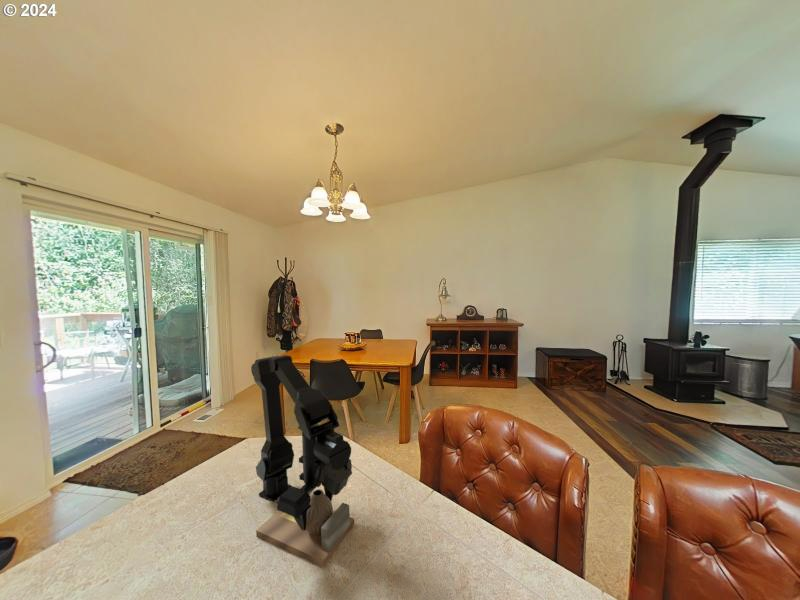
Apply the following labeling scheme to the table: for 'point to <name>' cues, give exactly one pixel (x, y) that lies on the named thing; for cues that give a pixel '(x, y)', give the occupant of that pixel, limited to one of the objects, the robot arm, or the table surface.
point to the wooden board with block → (308, 535)
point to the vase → (318, 512)
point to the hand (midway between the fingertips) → (317, 514)
